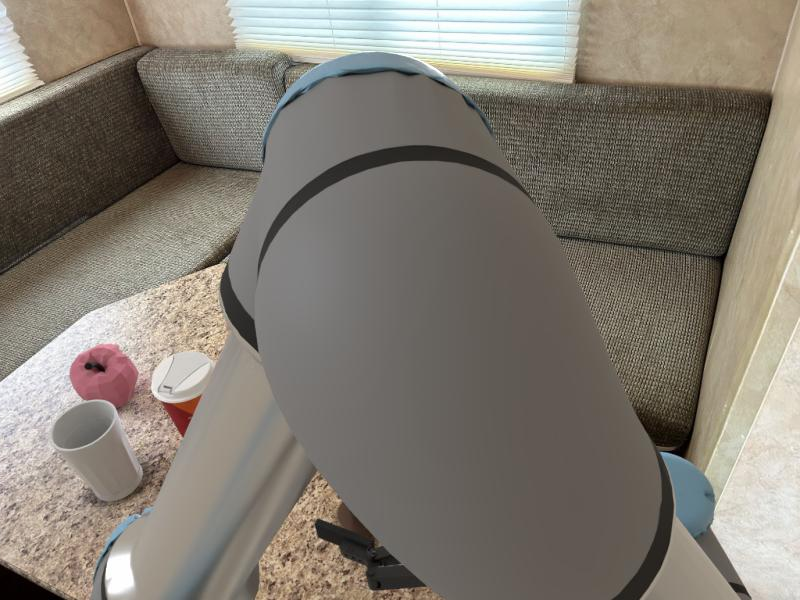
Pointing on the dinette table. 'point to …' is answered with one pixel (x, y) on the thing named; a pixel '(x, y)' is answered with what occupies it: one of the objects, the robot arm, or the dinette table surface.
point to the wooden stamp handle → (351, 521)
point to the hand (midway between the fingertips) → (347, 476)
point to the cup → (97, 449)
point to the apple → (104, 375)
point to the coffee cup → (181, 385)
